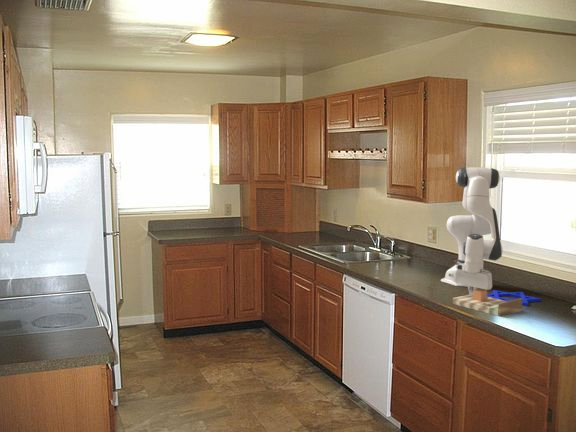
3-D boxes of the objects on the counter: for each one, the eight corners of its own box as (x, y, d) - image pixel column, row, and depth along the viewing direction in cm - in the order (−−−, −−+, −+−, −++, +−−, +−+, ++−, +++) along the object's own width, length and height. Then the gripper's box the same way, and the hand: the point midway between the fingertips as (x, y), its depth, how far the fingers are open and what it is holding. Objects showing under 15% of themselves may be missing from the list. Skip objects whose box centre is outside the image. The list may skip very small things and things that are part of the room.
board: (452, 303, 306) (453, 291, 305) (474, 299, 316) (475, 287, 315) (499, 316, 284) (500, 303, 283) (521, 311, 294) (522, 298, 293)
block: (473, 299, 303) (473, 290, 302) (479, 298, 305) (479, 289, 305) (480, 301, 299) (481, 292, 299) (486, 300, 302) (487, 291, 301)
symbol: (472, 296, 316) (499, 287, 337) (471, 300, 316) (499, 290, 337) (521, 306, 298) (547, 296, 319) (521, 309, 298) (547, 299, 319)
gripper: (495, 270, 298) (494, 298, 299) (461, 263, 314) (460, 290, 316) (487, 271, 294) (486, 300, 295) (453, 264, 311) (452, 292, 312)
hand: (472, 295), depth 306 cm, fingers closed
